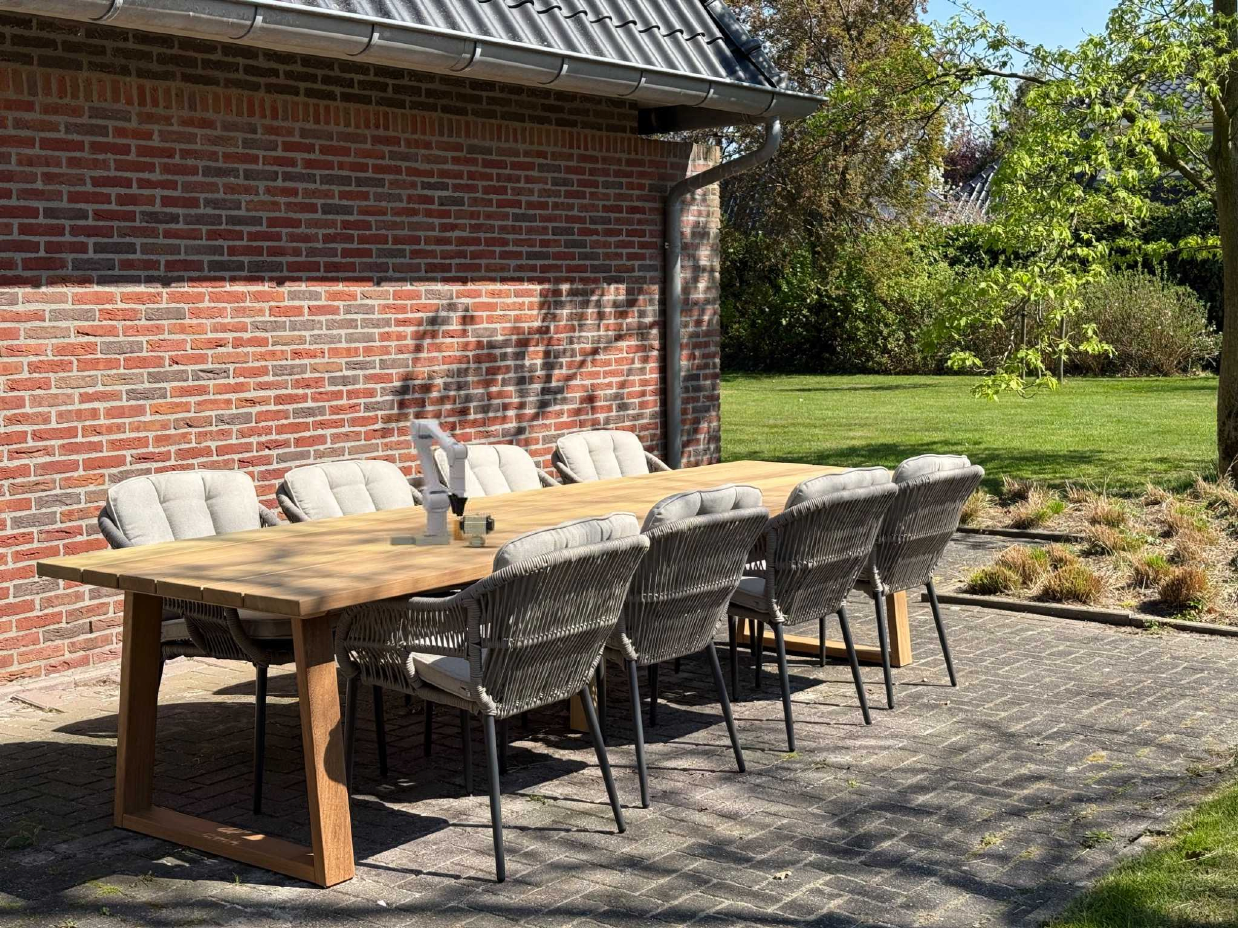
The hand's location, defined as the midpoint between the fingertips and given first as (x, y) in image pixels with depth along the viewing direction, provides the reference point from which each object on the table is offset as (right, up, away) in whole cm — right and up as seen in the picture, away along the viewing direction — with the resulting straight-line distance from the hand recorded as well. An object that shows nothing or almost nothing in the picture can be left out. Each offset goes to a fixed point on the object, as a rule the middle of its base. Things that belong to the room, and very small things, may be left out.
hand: (457, 515), depth 539 cm
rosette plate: (-13, -10, -8) cm, 18 cm away
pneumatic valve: (+9, -11, -17) cm, 22 cm away
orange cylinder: (0, -9, +1) cm, 9 cm away
